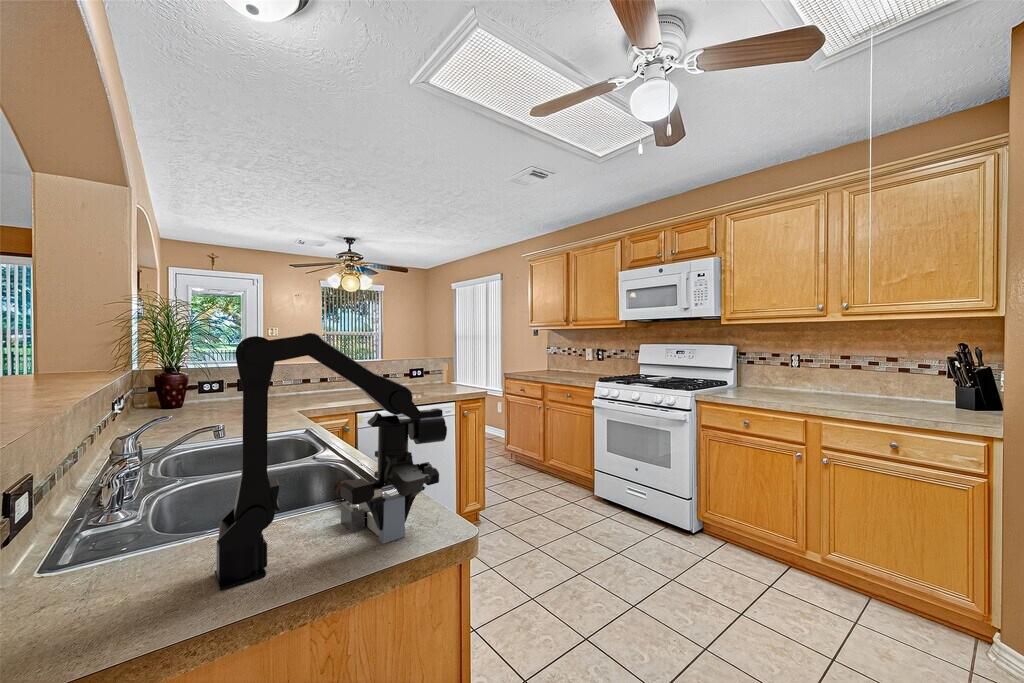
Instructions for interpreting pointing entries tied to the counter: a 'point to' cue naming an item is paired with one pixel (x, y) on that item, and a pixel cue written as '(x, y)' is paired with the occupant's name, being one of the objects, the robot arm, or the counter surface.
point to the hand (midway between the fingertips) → (391, 525)
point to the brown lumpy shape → (339, 487)
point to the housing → (355, 514)
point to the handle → (390, 519)
